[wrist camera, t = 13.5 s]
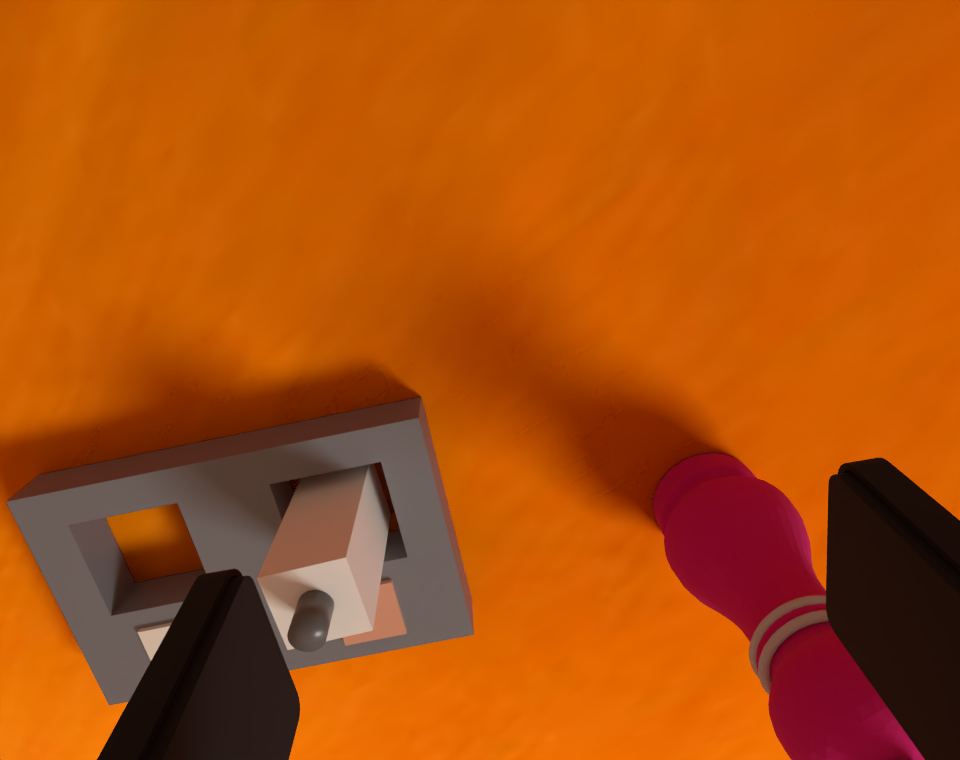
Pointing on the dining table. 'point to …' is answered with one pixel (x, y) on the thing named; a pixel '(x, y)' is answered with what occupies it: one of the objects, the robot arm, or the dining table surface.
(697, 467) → the pepper mill
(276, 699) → the robot arm
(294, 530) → the plug
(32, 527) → the socket board
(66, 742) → the dining table surface
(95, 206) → the dining table surface
